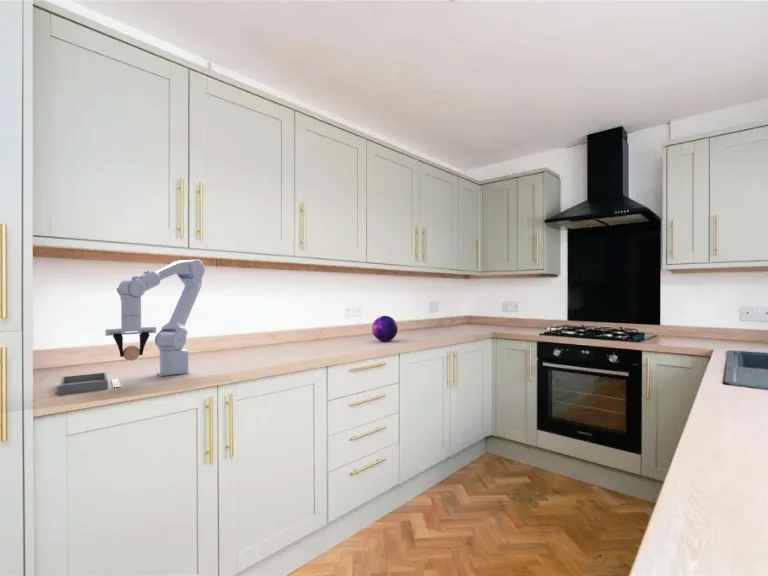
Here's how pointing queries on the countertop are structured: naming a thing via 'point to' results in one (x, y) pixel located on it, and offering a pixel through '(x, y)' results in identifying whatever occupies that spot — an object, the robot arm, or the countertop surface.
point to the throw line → (115, 383)
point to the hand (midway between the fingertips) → (131, 355)
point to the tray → (83, 383)
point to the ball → (131, 353)
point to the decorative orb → (384, 328)
